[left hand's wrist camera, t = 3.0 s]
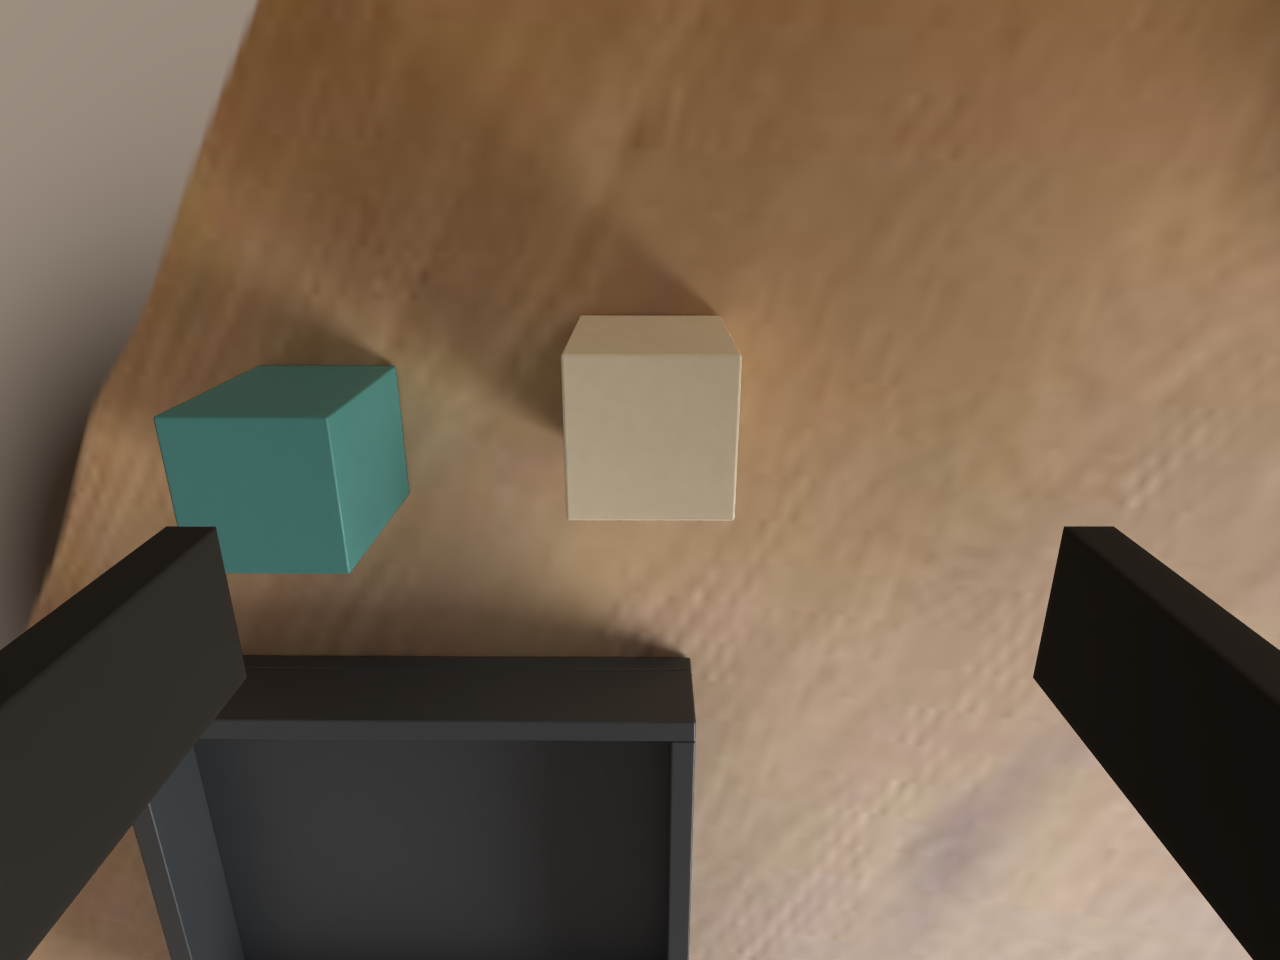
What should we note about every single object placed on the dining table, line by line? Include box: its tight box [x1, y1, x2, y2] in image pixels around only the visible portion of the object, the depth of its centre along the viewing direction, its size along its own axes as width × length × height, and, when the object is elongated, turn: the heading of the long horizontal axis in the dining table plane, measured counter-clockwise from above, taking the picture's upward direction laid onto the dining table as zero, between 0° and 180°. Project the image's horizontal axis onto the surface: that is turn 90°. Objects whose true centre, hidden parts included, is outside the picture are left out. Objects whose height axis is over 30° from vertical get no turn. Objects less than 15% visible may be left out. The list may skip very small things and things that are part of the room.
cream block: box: [561, 315, 742, 521], centre depth 23 cm, size 4×4×6 cm
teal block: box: [154, 365, 409, 574], centre depth 24 cm, size 4×4×6 cm
